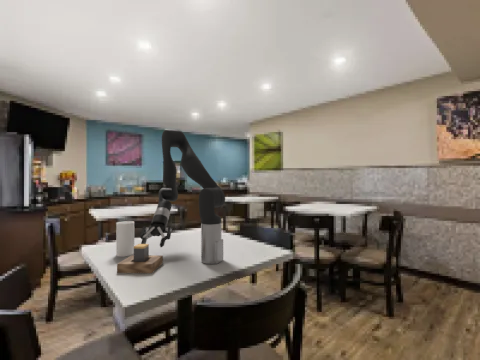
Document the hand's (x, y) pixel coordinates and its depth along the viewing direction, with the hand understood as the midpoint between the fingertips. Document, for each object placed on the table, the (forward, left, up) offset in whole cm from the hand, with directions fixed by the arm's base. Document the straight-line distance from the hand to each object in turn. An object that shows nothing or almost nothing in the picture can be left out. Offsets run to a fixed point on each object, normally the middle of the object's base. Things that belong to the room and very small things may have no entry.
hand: (151, 246), depth 115 cm
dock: (-4, +11, -6) cm, 13 cm away
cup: (+19, -2, -6) cm, 20 cm away
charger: (-4, +11, -6) cm, 13 cm away
